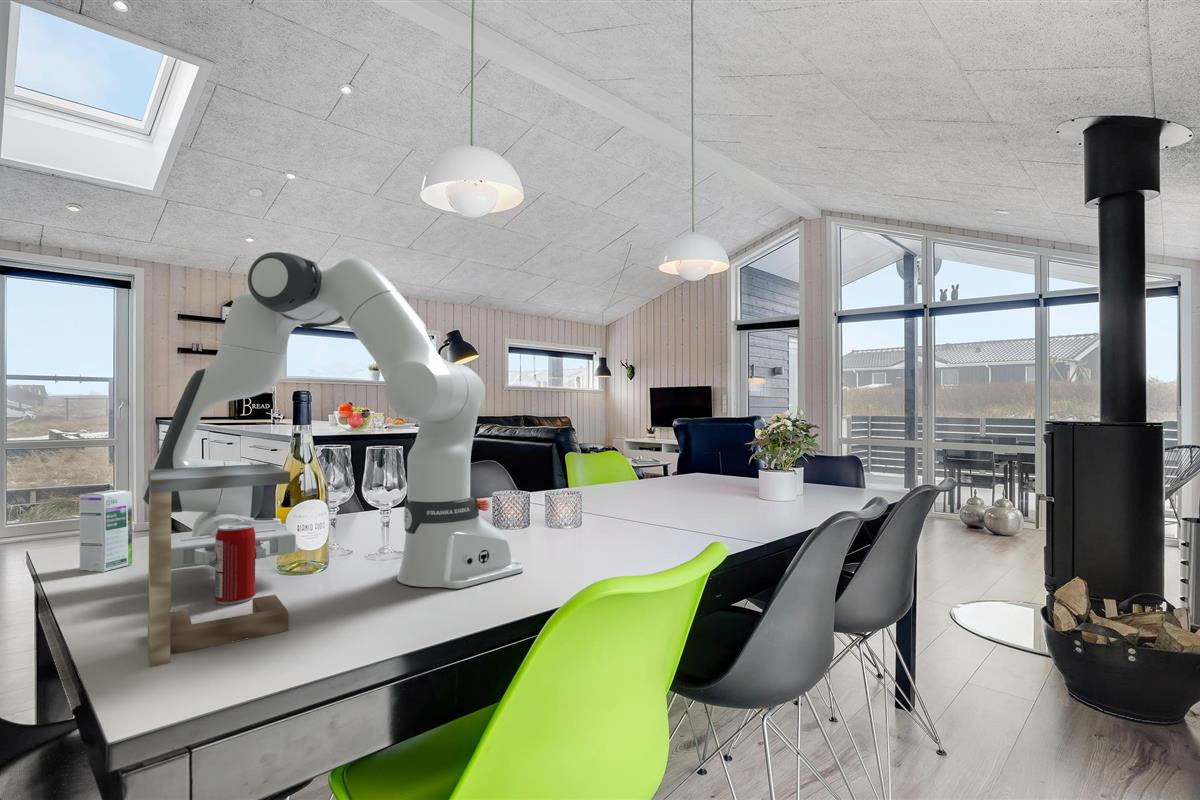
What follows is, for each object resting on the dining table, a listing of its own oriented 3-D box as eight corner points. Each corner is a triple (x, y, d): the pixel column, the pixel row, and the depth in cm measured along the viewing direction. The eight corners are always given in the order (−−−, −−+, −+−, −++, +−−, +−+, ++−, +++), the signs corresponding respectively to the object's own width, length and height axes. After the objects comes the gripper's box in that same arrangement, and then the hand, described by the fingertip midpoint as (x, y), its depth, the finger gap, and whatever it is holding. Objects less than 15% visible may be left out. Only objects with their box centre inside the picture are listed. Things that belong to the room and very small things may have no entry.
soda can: (263, 596, 100) (263, 522, 100) (232, 606, 95) (233, 528, 95) (237, 592, 102) (238, 520, 102) (206, 602, 96) (207, 526, 97)
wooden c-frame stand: (269, 608, 94) (270, 463, 94) (289, 637, 82) (290, 472, 82) (146, 629, 85) (148, 469, 85) (149, 666, 73) (151, 480, 73)
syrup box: (103, 572, 114) (104, 494, 114) (77, 570, 115) (78, 493, 115) (132, 564, 119) (133, 489, 120) (107, 563, 121) (108, 489, 121)
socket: (275, 611, 93) (275, 594, 93) (288, 630, 85) (288, 612, 85) (160, 631, 84) (160, 613, 84) (163, 655, 76) (164, 635, 76)
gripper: (152, 530, 102) (155, 545, 91) (288, 517, 115) (305, 528, 104) (152, 568, 102) (155, 588, 91) (288, 551, 114) (305, 566, 103)
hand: (236, 556), depth 97 cm, fingers closed on soda can, 5 cm apart
